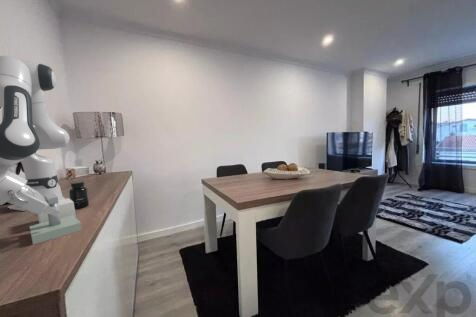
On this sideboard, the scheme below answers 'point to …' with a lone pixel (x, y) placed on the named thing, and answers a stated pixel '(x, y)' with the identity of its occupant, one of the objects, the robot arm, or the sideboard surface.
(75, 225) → the t-shaped pedestal stand
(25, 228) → the sideboard surface
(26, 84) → the robot arm
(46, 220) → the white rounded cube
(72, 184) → the supplement bottle
